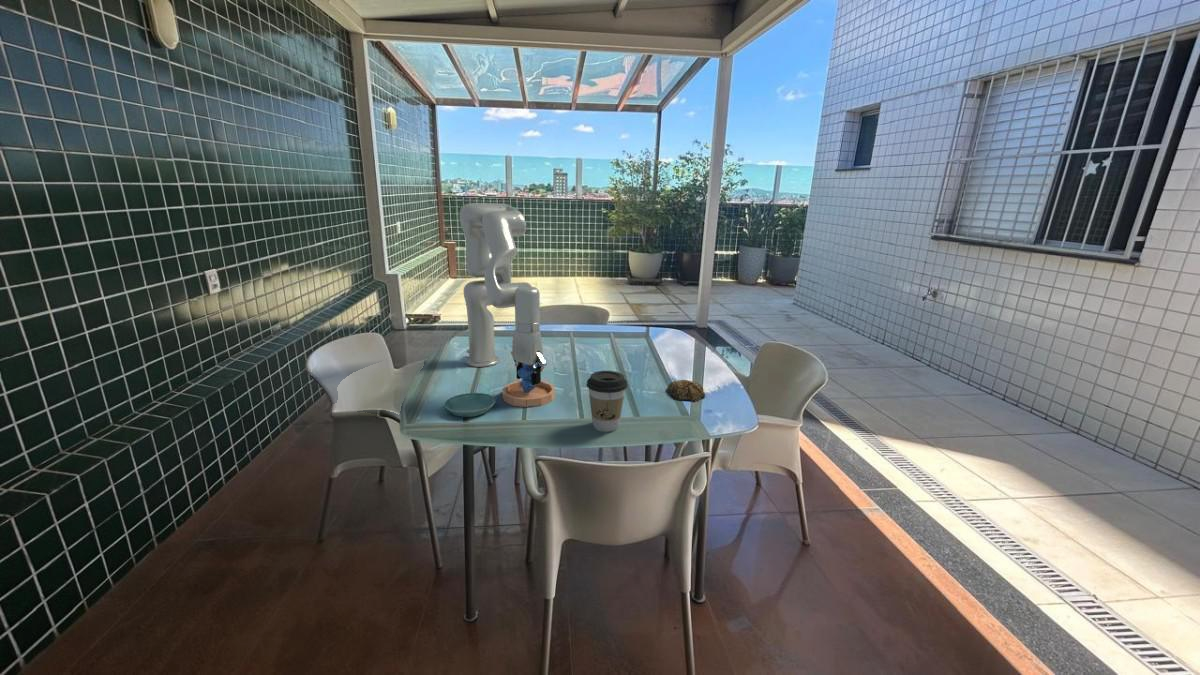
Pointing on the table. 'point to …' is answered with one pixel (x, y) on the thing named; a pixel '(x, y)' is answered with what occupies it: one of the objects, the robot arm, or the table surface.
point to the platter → (528, 394)
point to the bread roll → (686, 390)
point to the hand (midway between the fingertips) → (528, 380)
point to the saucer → (470, 404)
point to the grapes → (526, 377)
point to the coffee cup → (606, 399)
